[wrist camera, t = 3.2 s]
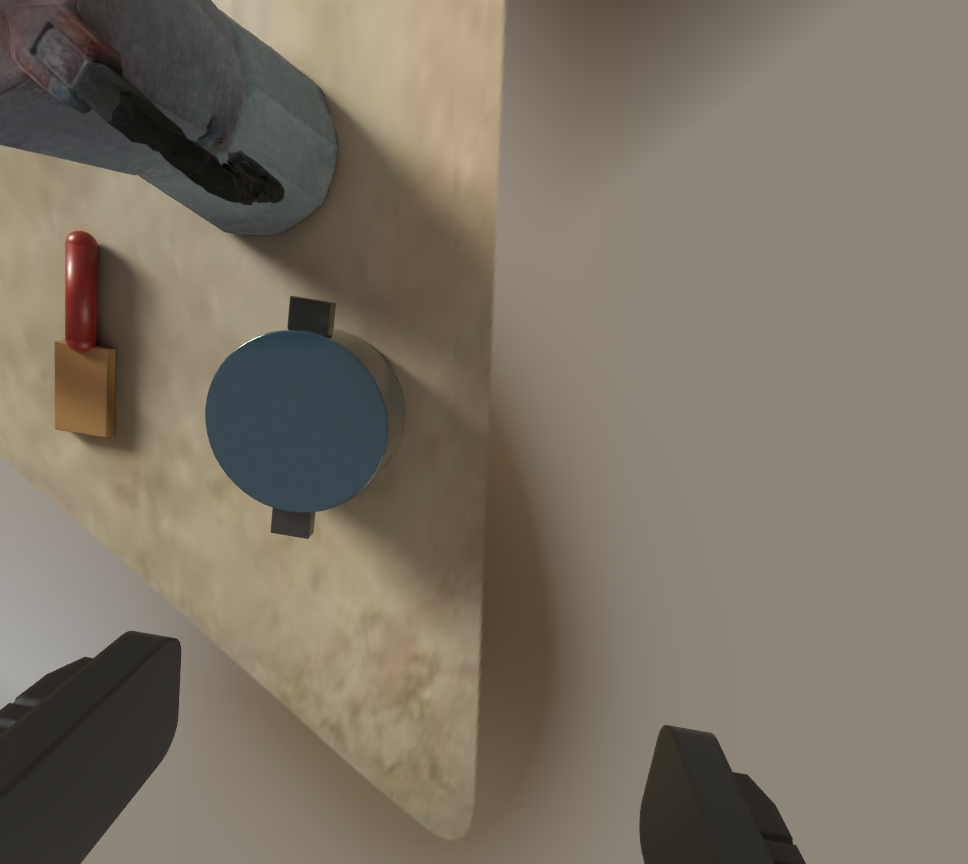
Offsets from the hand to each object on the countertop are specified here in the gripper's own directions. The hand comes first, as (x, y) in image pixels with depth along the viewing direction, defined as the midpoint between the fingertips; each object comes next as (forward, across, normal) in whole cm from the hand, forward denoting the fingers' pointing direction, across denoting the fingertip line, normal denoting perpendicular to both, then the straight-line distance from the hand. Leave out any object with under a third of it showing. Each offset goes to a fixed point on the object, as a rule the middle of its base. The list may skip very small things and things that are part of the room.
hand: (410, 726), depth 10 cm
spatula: (+23, +23, -2) cm, 32 cm away
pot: (+23, +9, 0) cm, 25 cm away
